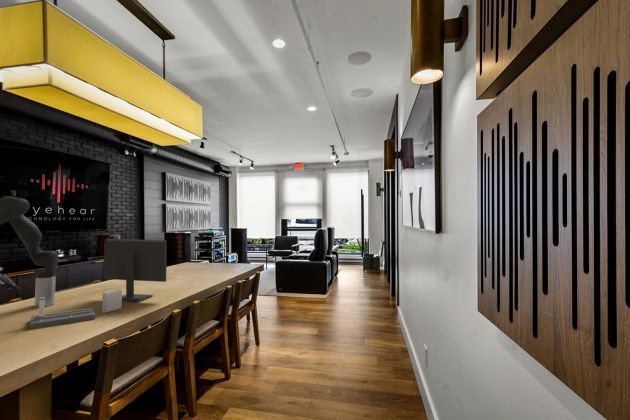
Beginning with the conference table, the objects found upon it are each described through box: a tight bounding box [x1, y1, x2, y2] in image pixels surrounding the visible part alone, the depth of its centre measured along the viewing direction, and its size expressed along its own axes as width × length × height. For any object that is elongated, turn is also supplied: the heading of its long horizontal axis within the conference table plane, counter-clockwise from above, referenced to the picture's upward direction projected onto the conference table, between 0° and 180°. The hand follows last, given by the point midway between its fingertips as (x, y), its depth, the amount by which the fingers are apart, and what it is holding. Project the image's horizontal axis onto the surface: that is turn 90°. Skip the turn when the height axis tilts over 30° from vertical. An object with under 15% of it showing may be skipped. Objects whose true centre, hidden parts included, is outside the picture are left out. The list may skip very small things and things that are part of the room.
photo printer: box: [101, 288, 123, 314], centre depth 181 cm, size 10×4×12 cm, turn 156°
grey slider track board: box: [28, 307, 96, 330], centre depth 163 cm, size 16×26×4 cm, turn 130°
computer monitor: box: [103, 238, 168, 303], centre depth 208 cm, size 44×16×40 cm, turn 84°
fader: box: [37, 297, 46, 318], centre depth 157 cm, size 4×3×10 cm
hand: (20, 291), depth 152 cm, fingers closed
